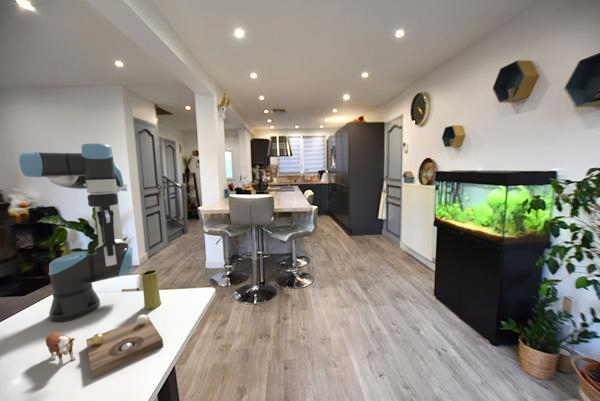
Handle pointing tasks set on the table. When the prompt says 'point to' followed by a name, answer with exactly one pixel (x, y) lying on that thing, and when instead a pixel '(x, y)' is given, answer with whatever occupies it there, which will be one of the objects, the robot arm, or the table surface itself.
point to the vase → (151, 289)
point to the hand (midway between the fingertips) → (111, 264)
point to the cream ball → (141, 319)
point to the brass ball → (97, 339)
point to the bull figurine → (59, 345)
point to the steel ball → (126, 346)
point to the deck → (109, 350)
